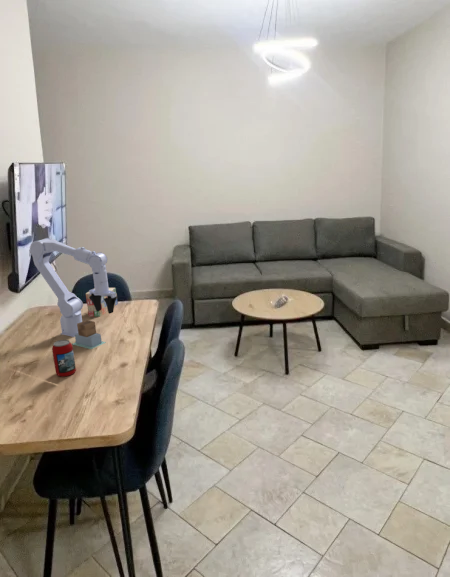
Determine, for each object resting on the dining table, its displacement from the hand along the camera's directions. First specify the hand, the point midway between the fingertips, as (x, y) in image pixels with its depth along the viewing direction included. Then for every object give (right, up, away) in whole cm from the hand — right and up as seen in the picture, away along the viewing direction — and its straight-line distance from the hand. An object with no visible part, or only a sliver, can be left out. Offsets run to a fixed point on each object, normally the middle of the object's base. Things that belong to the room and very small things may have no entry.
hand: (104, 311), depth 189 cm
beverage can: (-4, -21, -35) cm, 40 cm away
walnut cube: (-5, -9, -9) cm, 14 cm away
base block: (-4, -13, -8) cm, 16 cm away
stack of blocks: (-11, -1, +38) cm, 40 cm away
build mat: (-5, -14, -12) cm, 20 cm away
